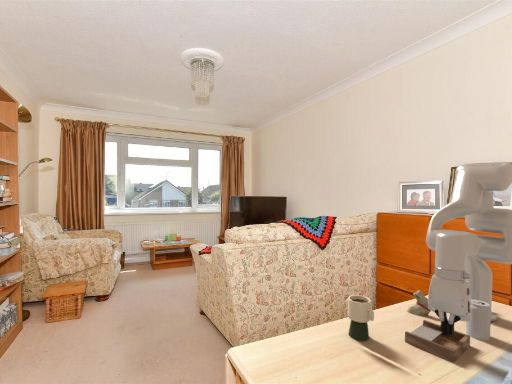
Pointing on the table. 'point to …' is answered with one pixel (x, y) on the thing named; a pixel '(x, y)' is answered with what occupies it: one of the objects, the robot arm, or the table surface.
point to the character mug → (359, 316)
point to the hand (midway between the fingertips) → (447, 334)
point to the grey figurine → (419, 305)
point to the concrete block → (428, 333)
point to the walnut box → (441, 343)
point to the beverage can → (479, 320)
